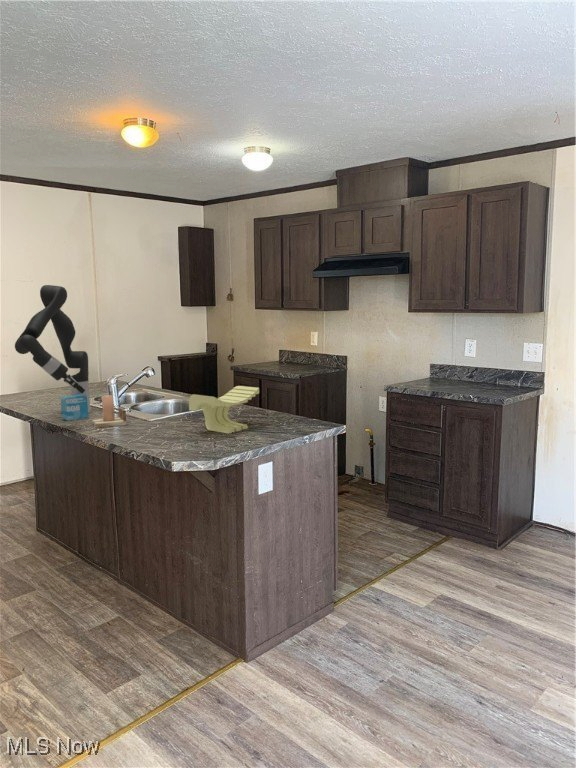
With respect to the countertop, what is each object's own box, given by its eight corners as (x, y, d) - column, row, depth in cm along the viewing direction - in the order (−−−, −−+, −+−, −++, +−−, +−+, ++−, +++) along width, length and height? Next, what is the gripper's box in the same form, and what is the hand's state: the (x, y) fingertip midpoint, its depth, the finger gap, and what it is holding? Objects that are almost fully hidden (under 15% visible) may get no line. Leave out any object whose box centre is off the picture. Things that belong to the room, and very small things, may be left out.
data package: (65, 421, 295) (63, 397, 293) (62, 420, 298) (60, 396, 296) (88, 417, 303) (87, 394, 301) (84, 416, 306) (83, 393, 304)
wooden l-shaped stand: (92, 423, 288) (91, 409, 287) (121, 420, 294) (120, 406, 293) (96, 428, 277) (95, 413, 276) (126, 425, 283) (125, 410, 282)
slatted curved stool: (234, 421, 289) (233, 385, 286) (259, 424, 279) (259, 387, 276) (190, 432, 265) (188, 393, 262) (215, 437, 255) (214, 396, 253)
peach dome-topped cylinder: (102, 419, 287) (100, 395, 285) (113, 418, 289) (111, 394, 287) (104, 421, 282) (102, 397, 280) (115, 420, 284) (113, 396, 282)
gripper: (62, 363, 266) (90, 386, 273) (59, 360, 279) (85, 382, 285) (50, 376, 264) (79, 398, 271) (47, 372, 277) (75, 394, 284)
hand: (82, 390), depth 278 cm, fingers open, 8 cm apart
